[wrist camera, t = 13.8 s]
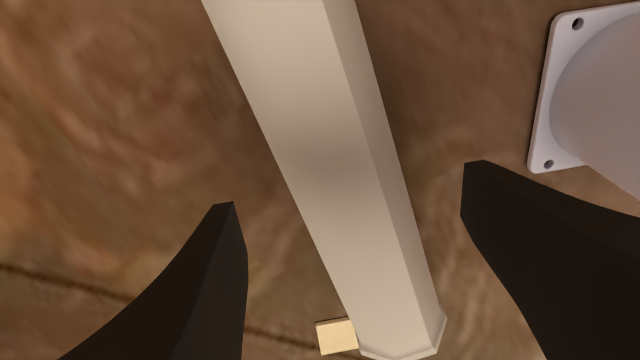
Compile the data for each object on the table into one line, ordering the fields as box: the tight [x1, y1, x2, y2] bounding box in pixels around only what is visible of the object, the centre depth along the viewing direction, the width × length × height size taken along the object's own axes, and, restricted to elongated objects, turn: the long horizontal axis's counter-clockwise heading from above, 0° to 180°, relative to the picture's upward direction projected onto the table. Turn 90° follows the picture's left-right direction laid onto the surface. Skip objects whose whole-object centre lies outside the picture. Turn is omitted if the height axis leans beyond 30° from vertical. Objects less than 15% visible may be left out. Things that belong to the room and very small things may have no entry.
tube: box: [201, 0, 447, 360], centre depth 17 cm, size 5×5×25 cm
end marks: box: [315, 317, 359, 355], centre depth 19 cm, size 4×34×1 cm, turn 7°
